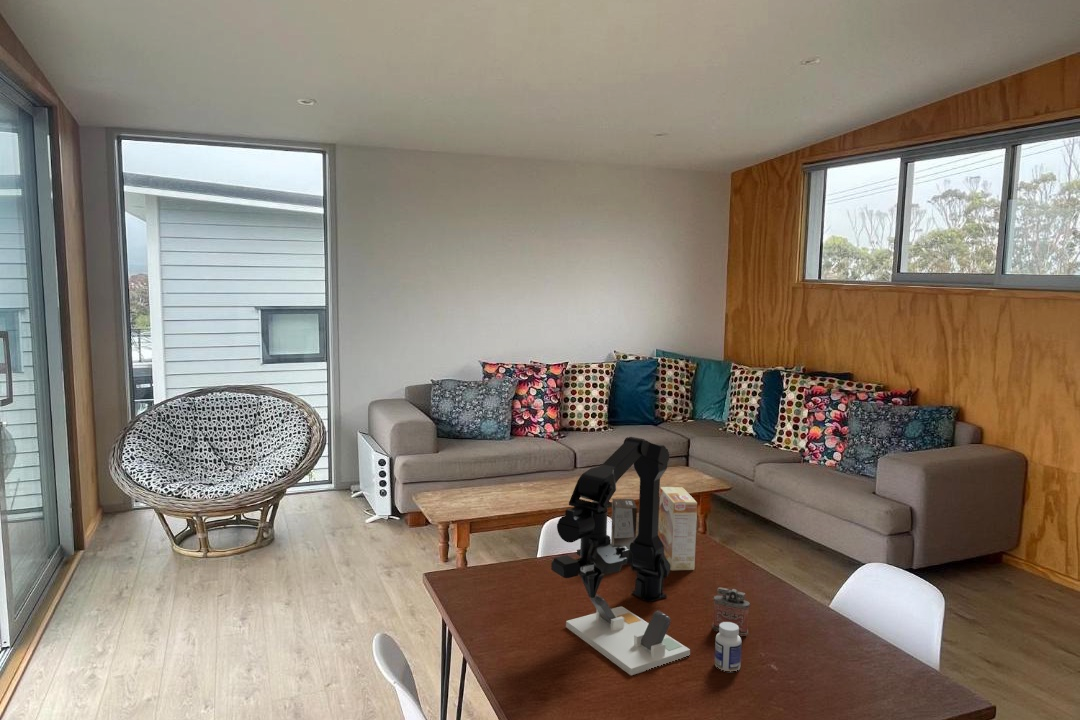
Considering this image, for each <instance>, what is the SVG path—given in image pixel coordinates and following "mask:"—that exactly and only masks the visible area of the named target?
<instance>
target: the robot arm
mask: <svg viewBox="0 0 1080 720" xmlns="http://www.w3.org/2000/svg"><path fill="white" fill-rule="evenodd" d="M669 461H670V452H669V450H668V449H667V447H666V446H665V445H663V444H658V443H652V442H650V441H648V440H646V439H645V438H641V437H635V436H629V437H628V436H627V437H625V439H624V440H623V443H622V444H621V445H620V446H619V447H618V448H617V449H616V450H615V451H614V452H613V453H612V454H611V455H610V457H608V458H607V459H606V460H605V461H603V463H601V465H599V466H595V467H591V468H589V469H588V470H586V471H584V472H583V473H582V474H581V475H580V476H579V478H578V479H577V481H576V484H575V487H574V489H573V492H572V494H571V496H570V499H569V502H568V506H570V507H572V508H567V509H565V510H564V511H565V513H564V515H563V516H561V517H560V518H559V519H558V522H557V523H556V530H557V533H558V535H559V537H560V538H561V539H562V540H563V541H564V542H566V543H575V542H576V541H579V540H580V546H579V547H580V549H577V550H576V555H577V556H579V558H573V557H571V556H569V555H568V554H566V555H561V556H558V557H553V559H552V560H551V563H550V564H551V565H550V568H551V569H550V570H551V571H553V572H554V573H556V574H557V575H559V576H560V577H562V578H564V579H570V578H574V577H578V576H579V577H580V578H581V580H582V583H583V586H584V588H585V590H586V593H587V596H588V597H589V598H590V599H591V598H594V597H595V595H596V594H597V592H598V590H599V587H600V584H601V583H602V580H603V578H604V576H605V575H606V576H607V575H610V574H614V573H619V572H621V569H622V566H626V565H630V569H631V571H632V572H636V578H635V581H634V582H635V585H634V587H635V588H634V590H631V594H633V595H634V596H636V597H638V598H640V599H641V600H643V601H645V602H646V603H651V602H654V601H658V600H661V599H665V598H668V595H667V594H666V593H664V578H668V577H669V574H670V572H671V570H670V567H671V565H670V563H669V562H668V560H667V559H666V557H665V556H664V545H663V544H662V542H661V540H660V538H659V536H658V535H659V509H660V487H661V478H662V477H663V475H664V474H665V472H666V471H667V469H668V464H669ZM632 466H633V468H634V470H635V472H636V474H637V476H638V477H639V493H638V494H639V497H638V498H639V499H638V502H639V503H638V523H637V525H638V527H637V535H636V539H635V540H634V541H633V542H632V543H631V544H630V550H629V549H627V548H626V546H624V547H623V546H621V545H619V544H618V545H613V546H611V535H608V534H607V530H608V509H609V508H612V502H610V500H611V499H612V497H613V496H614V493H615V492H616V491H617V483H618V481H619V479H621V478H622V477H623V475H624V474H625V473H626V472H627V471H628V470H629V469H630V468H631V467H632ZM581 498H582V499H581Z"/></svg>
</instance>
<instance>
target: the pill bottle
mask: <svg viewBox="0 0 1080 720" xmlns="http://www.w3.org/2000/svg"><path fill="white" fill-rule="evenodd" d="M738 634H739V627H738V625H736V624H735V623H732V622H722V623H720V625H719V632H718V633H717V634H716V636H715V640H714V641H715V643H714V644H715V645H714V665H715V666H714V667H716V668H717V667H718V668H719V669H721V670H720V671H722V670H724V671H723V672H725V671H730V672H729V673H732V672H731V671H736V672H738V671H740V669H741V664H742V663H741V662H742V637H740V636H739V635H738ZM718 668H717V669H718ZM719 669H718V670H719ZM737 670H738V671H737Z"/></svg>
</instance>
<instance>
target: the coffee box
mask: <svg viewBox="0 0 1080 720" xmlns="http://www.w3.org/2000/svg"><path fill="white" fill-rule="evenodd" d="M611 499H612V502H611V504H612V506H611V535H610V539H611V546H613V545H618V544H619V545H621V546H623V547H624V546H626V548H627V549H629V550H630V544H631V543H632V542H633V541H634V540H635V539H636V537H637V518H638V516H637V515H638V507H637V505H636V502H635V500H634V498H611Z"/></svg>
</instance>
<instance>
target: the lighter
mask: <svg viewBox="0 0 1080 720" xmlns="http://www.w3.org/2000/svg"><path fill="white" fill-rule="evenodd" d="M716 593H717V595H715V596H713V602H714V604H713V606H714V609H713V621H712V622H713V623H712V628H713V629H714V630H713V629H712V628H711V629H712V630H713V631H715V630H717V631H716V632H718V631H719V625H720V623H722V622H732V623H735V624H736V625H738V627H739V634H738V635H747V634H748V635H749V630H748V629H749V628H748V625H749V612H750V611H749V608H750V606H751V605H750V602H749V601H747V600H745V597H746V593H745V592H742V591H738V590H737V589H736V588H732V589H729V588H725V587H718V588H717V592H716Z"/></svg>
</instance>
